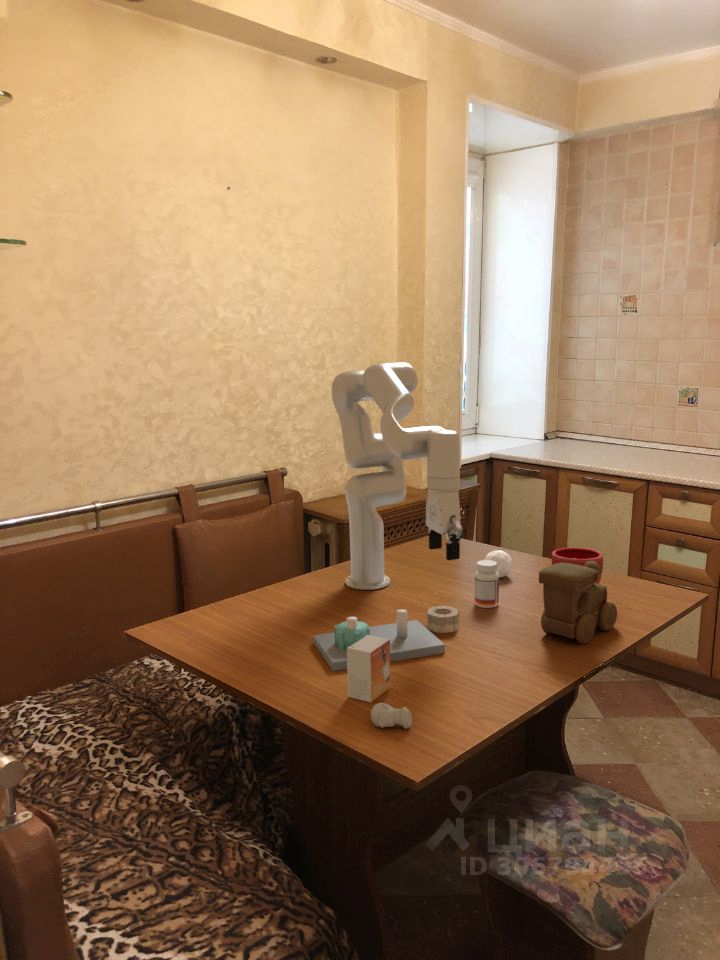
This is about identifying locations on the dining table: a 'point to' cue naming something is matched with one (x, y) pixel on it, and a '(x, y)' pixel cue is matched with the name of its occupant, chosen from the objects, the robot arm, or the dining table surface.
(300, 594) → the dining table surface
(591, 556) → the plant pot
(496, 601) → the pill bottle
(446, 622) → the wooden gear
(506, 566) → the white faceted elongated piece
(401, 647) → the gear board
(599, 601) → the wooden toy train
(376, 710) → the pale two-lobed sculpture
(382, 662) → the small box
